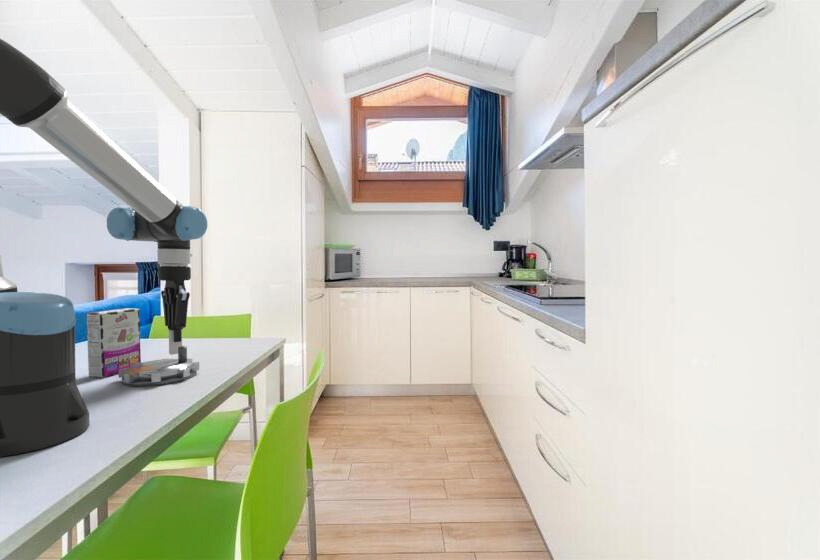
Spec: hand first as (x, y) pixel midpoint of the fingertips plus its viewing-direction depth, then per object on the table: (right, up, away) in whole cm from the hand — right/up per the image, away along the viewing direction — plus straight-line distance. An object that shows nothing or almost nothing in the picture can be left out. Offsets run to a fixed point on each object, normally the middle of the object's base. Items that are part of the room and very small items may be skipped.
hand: (175, 353), depth 107 cm
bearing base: (0, -5, -6) cm, 8 cm away
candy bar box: (-15, -5, -2) cm, 16 cm away
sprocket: (0, -5, -6) cm, 8 cm away
